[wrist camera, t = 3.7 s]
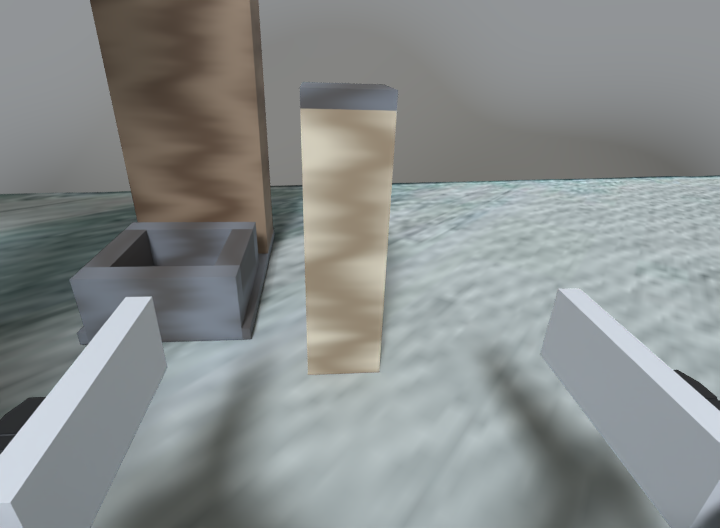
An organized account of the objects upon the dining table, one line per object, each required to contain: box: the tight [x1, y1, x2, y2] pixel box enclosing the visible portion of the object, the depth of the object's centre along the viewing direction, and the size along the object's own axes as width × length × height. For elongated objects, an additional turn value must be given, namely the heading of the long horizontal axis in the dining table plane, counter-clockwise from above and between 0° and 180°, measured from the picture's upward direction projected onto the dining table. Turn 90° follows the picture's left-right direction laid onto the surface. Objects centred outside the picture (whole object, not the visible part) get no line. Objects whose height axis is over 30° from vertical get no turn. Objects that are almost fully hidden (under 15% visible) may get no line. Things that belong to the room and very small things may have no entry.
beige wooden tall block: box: [300, 82, 398, 375], centre depth 22 cm, size 4×4×15 cm
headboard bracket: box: [69, 0, 275, 344], centre depth 27 cm, size 10×17×28 cm, turn 6°
